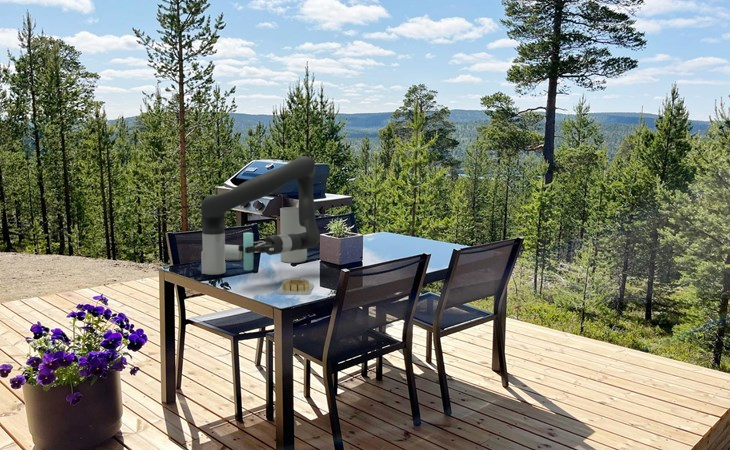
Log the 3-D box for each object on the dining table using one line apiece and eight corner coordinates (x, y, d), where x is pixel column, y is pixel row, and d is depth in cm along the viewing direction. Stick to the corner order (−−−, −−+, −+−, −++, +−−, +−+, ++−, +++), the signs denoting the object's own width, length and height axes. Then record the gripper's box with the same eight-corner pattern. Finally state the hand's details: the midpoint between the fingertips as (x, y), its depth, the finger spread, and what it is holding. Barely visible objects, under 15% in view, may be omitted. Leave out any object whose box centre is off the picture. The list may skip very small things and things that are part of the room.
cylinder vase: (291, 256, 270) (291, 206, 266) (312, 259, 263) (312, 208, 260) (275, 261, 259) (274, 209, 255) (296, 264, 253) (296, 211, 249)
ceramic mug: (241, 261, 257) (241, 245, 256) (223, 262, 255) (223, 245, 254) (243, 257, 267) (242, 242, 266) (225, 257, 266) (225, 242, 265)
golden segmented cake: (277, 293, 202) (277, 286, 202) (283, 285, 215) (283, 277, 215) (309, 294, 202) (309, 286, 202) (313, 285, 215) (313, 278, 214)
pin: (242, 270, 207) (242, 233, 205) (245, 267, 211) (244, 232, 208) (252, 270, 207) (251, 234, 205) (254, 268, 210) (254, 232, 208)
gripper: (266, 232, 222) (231, 237, 210) (289, 237, 213) (253, 242, 200) (266, 250, 223) (231, 256, 211) (289, 256, 214) (253, 262, 201)
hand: (242, 249), depth 206 cm, fingers closed on pin, 3 cm apart
